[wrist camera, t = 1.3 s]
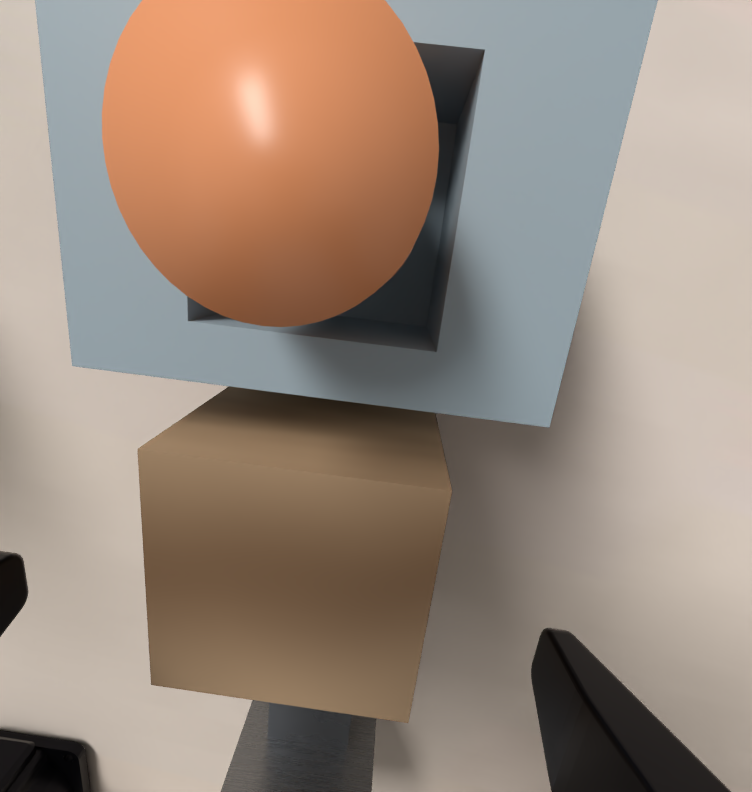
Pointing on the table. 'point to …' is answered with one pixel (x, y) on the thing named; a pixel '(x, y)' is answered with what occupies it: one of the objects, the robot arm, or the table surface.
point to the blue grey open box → (438, 239)
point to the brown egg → (271, 150)
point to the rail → (302, 751)
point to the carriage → (293, 550)
